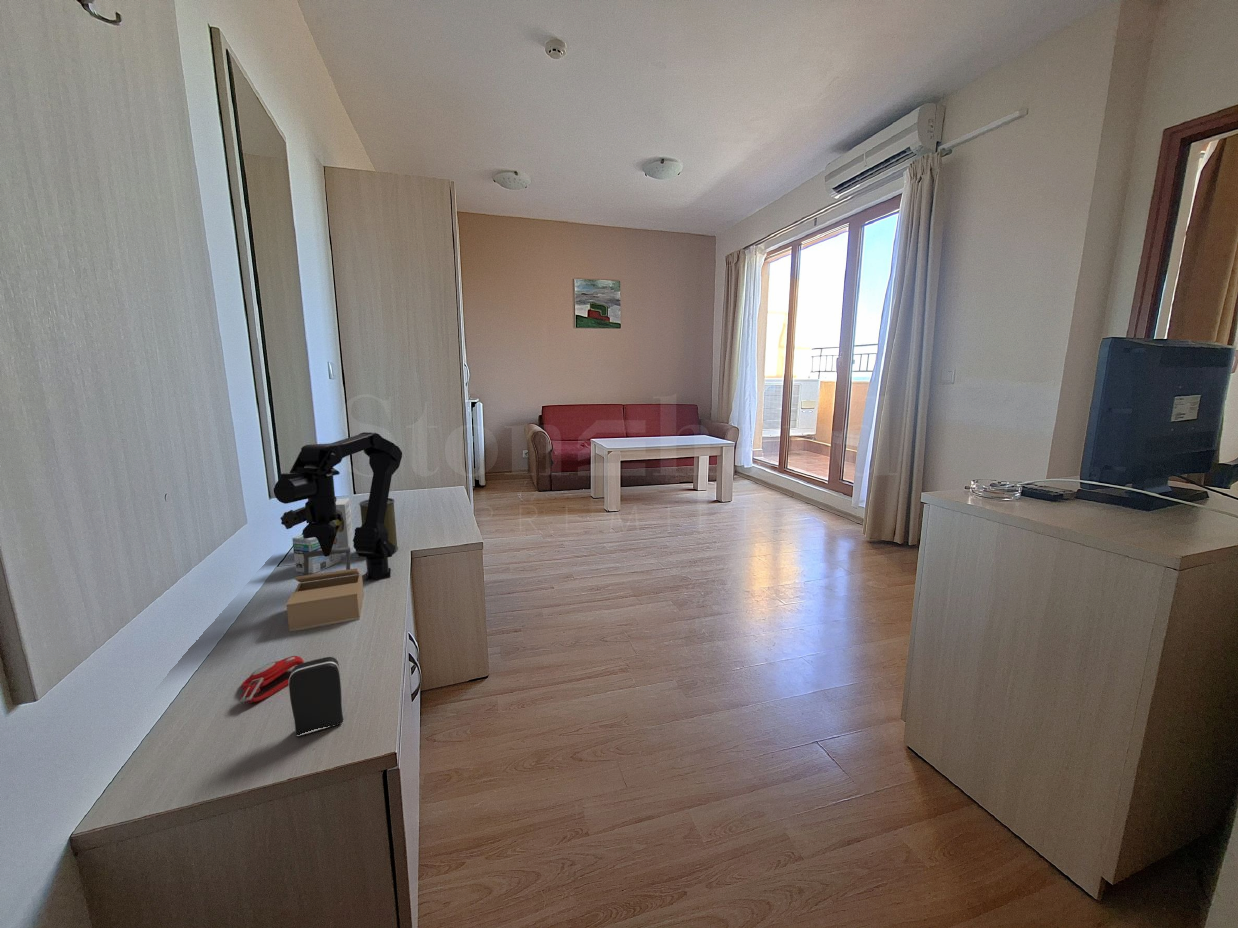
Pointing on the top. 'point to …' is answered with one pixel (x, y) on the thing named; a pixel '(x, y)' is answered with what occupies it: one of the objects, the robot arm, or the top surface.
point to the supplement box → (344, 523)
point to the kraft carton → (325, 602)
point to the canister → (388, 521)
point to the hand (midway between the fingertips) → (327, 556)
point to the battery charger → (316, 694)
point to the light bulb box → (314, 562)
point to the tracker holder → (267, 678)
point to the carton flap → (329, 574)
